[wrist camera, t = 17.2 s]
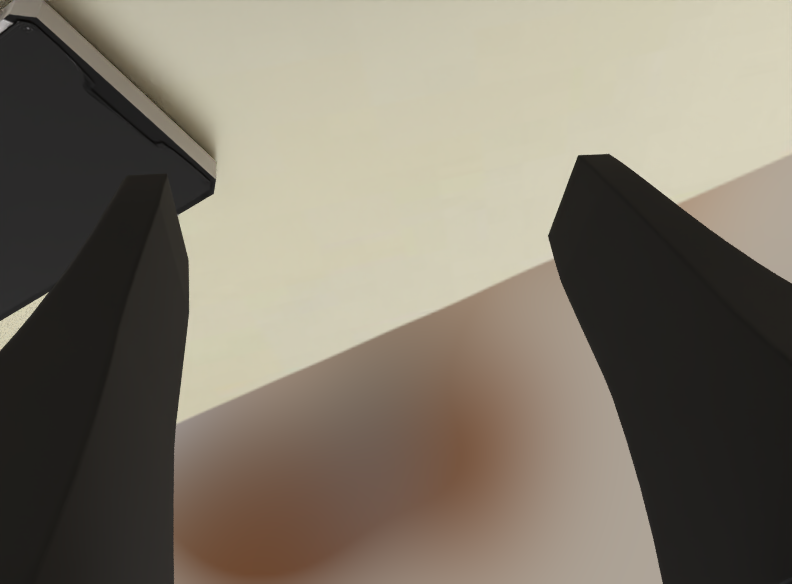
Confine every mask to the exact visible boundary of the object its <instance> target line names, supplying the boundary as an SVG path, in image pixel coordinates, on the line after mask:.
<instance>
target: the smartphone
mask: <svg viewBox="0 0 792 584" xmlns="http://www.w3.org/2000/svg"><path fill="white" fill-rule="evenodd" d="M216 165H217V162H216V161H215V160H214V159H213V158H212V157H211V156H210V155H209V154H208V153H207V152H206V151H204V150H203V149H202V148H201V147H200V146H199V145H198V144H197V143H196V142H195V141H194V140H193V139H192V138H191V137H189V136H188V135H187V134H186V133H185V132H184V131H183V130H182V129H181V128H180V127H179V126H178V125H177V124H176V123H175V122H173V121H172V120H171V119H170V118H169V117H168V116H167V115H166V114H165V113H164V112H163V111H162V110H161V109H160V108H158V107H157V106H156V105H155V104H154V103H153V102H152V101H151V100H150V99H149V98H148V97H147V96H146V95H145V94H144V93H142V92H141V91H140V90H139V89H138V88H137V87H136V86H135V85H134V84H133V83H132V82H131V81H130V80H129V79H127V78H126V77H125V76H124V75H123V74H122V73H121V72H120V71H119V70H118V69H117V68H116V67H115V66H114V65H113V64H111V63H110V62H109V61H108V60H107V59H106V58H105V57H104V56H103V55H102V54H101V53H100V52H99V51H98V50H96V49H95V48H94V47H93V46H92V45H91V44H90V43H89V42H88V41H87V40H86V39H85V38H84V37H83V36H81V35H80V34H79V33H78V32H77V31H76V30H75V29H74V28H73V27H72V26H71V25H70V24H69V23H68V22H67V21H65V20H64V19H63V18H62V17H61V16H60V15H59V14H58V13H57V12H56V11H55V10H54V9H53V8H52V7H50V6H49V5H48V4H47V3H46V2H45V1H44V0H13V1H12V2H10V3H9V4H8V5H7V6H5V7H4V8H3V9H2V10H1V9H0V321H1V320H3V319H4V318H6V317H8V316H9V315H11V314H13V313H14V312H16V311H18V310H19V309H21V308H23V307H24V306H26V305H28V304H29V303H31V302H33V301H34V300H36V299H38V298H40V297H41V296H43V295H45V294H46V293H48V292H49V291H50V290H51V289H52V288H53V286H54V285H55V284H56V282H57V281H58V280H59V278H60V277H61V276H62V274H63V273H64V272H65V270H66V269H67V267H68V266H69V264H70V263H71V261H72V260H73V259H74V257H75V256H76V254H77V253H78V251H79V250H80V248H81V247H82V245H83V244H84V242H85V241H86V239H87V238H88V237H89V235H90V233H91V232H92V230H93V229H94V227H95V225H96V224H97V222H98V221H99V219H100V218H101V216H102V214H103V213H104V211H105V209H106V208H107V206H108V204H109V203H110V201H111V199H112V198H113V196H114V194H115V192H116V191H117V189H118V187H119V185H120V184H121V182H122V181H123V180H124V179H125V178H126V176H127V175H145V174H167V176H168V180H169V184H170V188H171V192H172V196H173V200H174V204H175V208H176V212H177V216H178V215H179V214H180V213H182V212H184V211H185V210H187V209H189V208H190V207H192V206H194V205H195V204H197V203H199V202H200V201H202V200H204V199H206V198H207V197H209V196H211V195H212V194H214V189H215V183H216Z"/></svg>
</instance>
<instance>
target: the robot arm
mask: <svg viewBox="0 0 792 584" xmlns="http://www.w3.org/2000/svg"><path fill="white" fill-rule="evenodd" d="M548 237H549V241H550V245H551V249H552V252H553V256H554V260H555V263H556V267H557V270H558V273H559V276H560V280H561V283H562V285H563V287H564V289H565V292H566V294H567V296H568V299H569V301H570V303H571V305H572V307H573V310H574V312H575V314H576V316H577V319H578V321H579V323H580V325H581V328H582V330H583V332H584V334H585V336H586V338H587V340H588V343H589V345H590V347H591V349H592V351H593V353H594V356H595V358H596V360H597V362H598V365H599V367H600V369H601V371H602V373H603V375H604V378H605V380H606V383H607V385H608V388H609V390H610V392H611V395H612V398H613V400H614V403H615V407H616V410H617V412H618V416H619V419H620V422H621V425H622V428H623V431H624V434H625V437H626V440H627V443H628V447H629V450H630V453H631V457H632V460H633V464H634V467H635V470H636V474H637V478H638V481H639V484H640V488H641V492H642V496H643V500H644V504H645V508H646V512H647V515H648V519H649V523H650V527H651V531H652V535H653V539H654V544H655V549H656V553H657V558H658V563H659V568H660V572H661V577H662V582H663V584H792V283H790V282H788V281H786V280H785V279H783V278H781V277H780V276H778V275H776V274H775V273H773V272H771V271H770V270H768V269H767V268H765V267H764V266H762V265H760V264H759V263H757V262H756V261H754V260H753V259H751V258H750V257H748V256H747V255H746V254H744V253H743V252H741V251H739V250H738V249H737V248H735V247H734V246H732V245H731V244H729V243H728V242H726V241H725V240H724V239H722V238H721V237H719V236H718V235H717V234H715V233H714V232H713V231H711V230H709V229H708V228H707V227H706V226H704V225H703V224H702V223H700V222H699V221H698V220H696V219H695V218H694V217H692V216H691V215H690V214H688V213H687V212H686V211H684V210H683V209H682V208H681V207H679V206H678V205H677V204H675V203H674V202H673V201H671V200H670V199H669V198H668V197H666V196H665V195H664V194H662V193H661V192H660V191H659V190H657V189H656V188H655V187H653V186H652V185H651V184H650V183H648V182H647V181H646V180H644V179H643V178H642V177H640V176H639V175H638V174H636V173H635V172H634V171H632V170H631V169H630V168H628V167H627V166H626V165H624V164H623V163H622V162H620V161H619V160H617V159H616V158H614V157H613V156H611V155H610V154H600V155H578V157H577V160H576V163H575V165H574V168H573V171H572V173H571V176H570V179H569V181H568V184H567V187H566V189H565V192H564V195H563V197H562V200H561V203H560V206H559V208H558V211H557V214H556V216H555V219H554V222H553V224H552V227H551V230H550V232H549V235H548ZM188 317H189V264H188V256H187V252H186V248H185V244H184V240H183V236H182V232H181V228H180V224H179V220H178V216H177V212H176V208H175V204H174V200H173V196H172V192H171V188H170V184H169V180H168V176H167V174H145V175H127V176H126V178H125V179H124V180H123V181H122V182H121V184H120V185H119V187H118V189H117V191H116V192H115V194H114V196H113V198H112V199H111V201H110V203H109V204H108V206H107V208H106V209H105V211H104V213H103V214H102V216H101V218H100V219H99V221H98V222H97V224H96V225H95V227H94V229H93V230H92V232H91V233H90V235H89V237H88V238H87V239H86V241H85V242H84V244H83V245H82V247H81V248H80V250H79V251H78V253H77V254H76V256H75V257H74V259H73V260H72V261H71V263H70V264H69V266H68V267H67V269H66V270H65V272H64V273H63V274H62V276H61V277H60V278H59V280H58V281H57V282H56V284H55V285H54V286H53V288H52V289H51V290H50V291H49V293H48V294H47V295H46V297H45V298H44V299H43V300H42V302H41V303H40V304H39V306H38V307H37V308H36V310H35V311H34V312H33V313H32V315H31V316H30V317H29V318H28V320H27V321H26V322H25V323H24V324H23V325H22V327H21V328H20V329H19V330H18V331H17V333H16V334H15V335H14V336H13V337H12V338H11V339H10V341H9V342H8V343H7V344H6V345H5V346H4V347H3V348H2V349H1V351H0V584H174V561H173V560H174V559H173V493H174V489H173V488H174V443H175V429H176V419H177V411H178V402H179V394H180V386H181V377H182V369H183V361H184V352H185V343H186V335H187V326H188Z"/></svg>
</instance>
